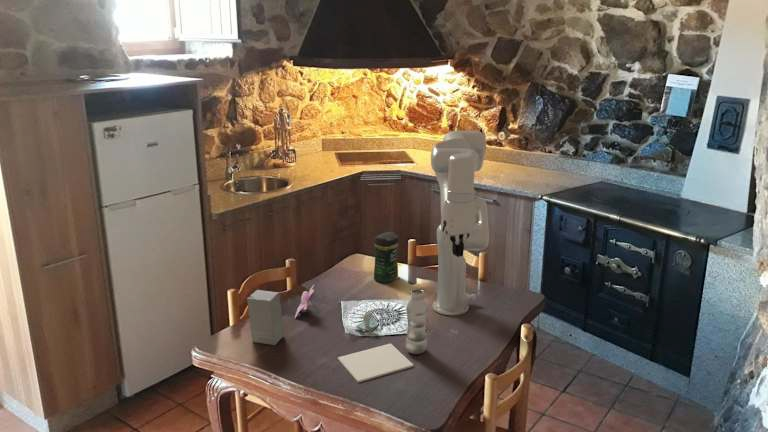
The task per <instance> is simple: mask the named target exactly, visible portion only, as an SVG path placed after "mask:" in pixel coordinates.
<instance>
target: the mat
mask: <svg viewBox="0 0 768 432" xmlns="http://www.w3.org/2000/svg"><path fill="white" fill-rule="evenodd" d="M337 360H338V361H339V363H340V364H341V365H342V366H343V367H344V369H346V371H347V372H348V373H349V374H350V376H351V377H352V378H353V379H354V380H355V382H357V383H362V382H364V381H369V380H372V379H375V378H378V377H382V376H386V375H389V374H393V373H397V372H399V371H403V370H407V369H410V368H413V367H414V363H412V361H410V360H409V359H408V358H407V357H406V356H405V355H404V354H403V353H402V352H400V351H399V349H397V348H396V347H395V346H394V345H393V344H392V343H391V342H390V343H386V344H383V345H379V346H375V347H372V348H369V349H365V350H361V351H357V352H353V353H349V354H346V355H342V356H337Z"/></svg>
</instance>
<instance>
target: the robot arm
mask: <svg viewBox="0 0 768 432" xmlns="http://www.w3.org/2000/svg"><path fill="white" fill-rule="evenodd" d="M486 140H487V139H486V136H485V135H484V133H483V132H481V131H480V130H451V131H449V132H447V133H446V134H445V135H444V136H443V138H442V141H440V142H437V143H435V144H434V145H433V146H432V149H431V152H430V165H431V169H432V171H433V172H434V175H435V178H436V179H437V182H438V186H439V189H440V215H441V218H440V219H441V220H440V224H439V226H438V227H437V229H436V240H437V241H436V242H437V250H438V253H437V255H438V256H437V257H438V258H437V259H438V263H437V264H438V265H437V266H438V267H437V269H438V270H437V294H436V295H437V296H436V298H437V299H435V300H434V301H433V303H432V309H433V311H435V312H436V313H439V314H440V315H445V316H460V315H464V314H465V313H466V312H468V311H469V306H470V305H469V303H468V302H470V301H473V300H476V298H477V295H476V293H472V294H469V292H466V275H467V260H466V258H465V256H464V252H465V251H483V250H486V249H487V247H488V245H489V242H490V231H489V230H490V229H489V213H488V204H487V201H486V200H485V198H484V197H482V196H480V195H479V196H478V195H477V191H476V190H475V189H474V187H475V172H479V171H480V170H481V169H482V168H483V166H484V160H485V155H486V150H487V141H486Z"/></svg>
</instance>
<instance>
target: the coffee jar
mask: <svg viewBox="0 0 768 432" xmlns="http://www.w3.org/2000/svg"><path fill="white" fill-rule="evenodd" d="M373 242H374V243H373V245H374V251H375V253H374V254H375V255H374V271H373V279H374V280H375V281H377V282H379V283H390V282H393V281H394V280H396V279H397V278H399V266H398V248H399V244H400V243H399V235H398V234H397V232H392V231H387V232H384V233H381V234H378V235H376V236H375V237H374V241H373Z"/></svg>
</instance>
